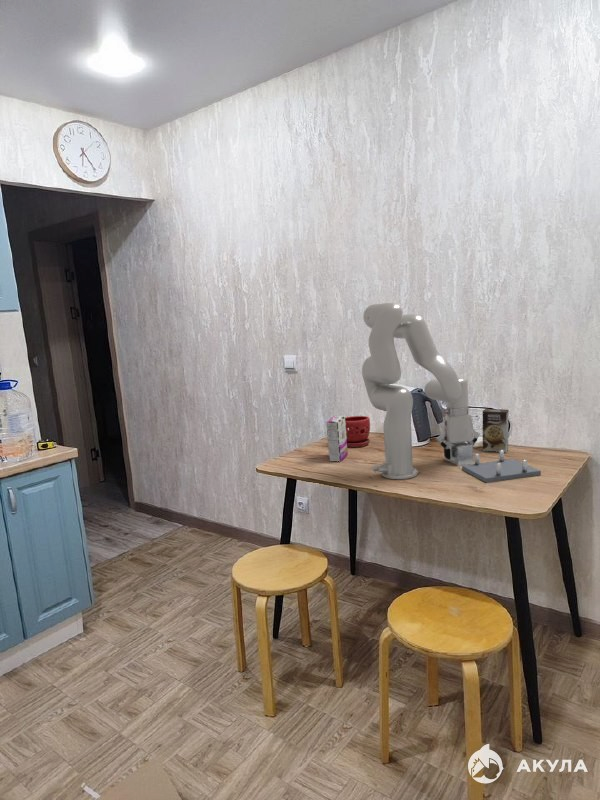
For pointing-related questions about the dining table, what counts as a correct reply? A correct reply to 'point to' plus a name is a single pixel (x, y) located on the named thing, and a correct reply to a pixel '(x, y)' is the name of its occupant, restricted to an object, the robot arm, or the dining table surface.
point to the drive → (461, 453)
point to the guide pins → (498, 465)
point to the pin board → (508, 470)
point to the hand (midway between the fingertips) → (458, 456)
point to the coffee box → (495, 430)
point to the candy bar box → (337, 438)
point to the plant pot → (357, 431)
